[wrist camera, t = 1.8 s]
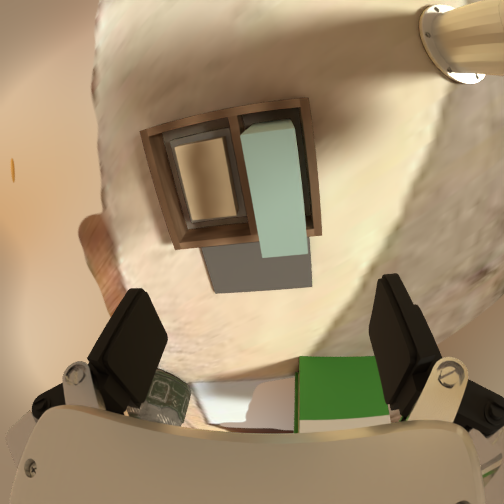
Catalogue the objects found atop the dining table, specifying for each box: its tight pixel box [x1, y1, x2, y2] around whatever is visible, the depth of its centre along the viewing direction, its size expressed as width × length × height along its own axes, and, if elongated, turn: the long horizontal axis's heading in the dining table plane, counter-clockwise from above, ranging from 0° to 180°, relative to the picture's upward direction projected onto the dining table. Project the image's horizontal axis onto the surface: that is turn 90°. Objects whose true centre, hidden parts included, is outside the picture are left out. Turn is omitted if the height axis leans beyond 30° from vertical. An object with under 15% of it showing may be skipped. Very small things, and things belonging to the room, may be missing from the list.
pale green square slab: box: [240, 119, 308, 258], centre depth 29 cm, size 4×12×12 cm, turn 10°
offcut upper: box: [175, 136, 239, 220], centre depth 33 cm, size 6×10×2 cm, turn 8°
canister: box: [126, 369, 191, 427], centre depth 55 cm, size 16×16×28 cm
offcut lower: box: [170, 127, 247, 223], centre depth 35 cm, size 8×12×2 cm, turn 10°
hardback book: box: [294, 356, 391, 433], centre depth 45 cm, size 18×7×24 cm, turn 89°
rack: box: [140, 98, 322, 250], centre depth 33 cm, size 20×17×4 cm
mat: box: [201, 237, 312, 294], centre depth 42 cm, size 16×9×1 cm, turn 100°
